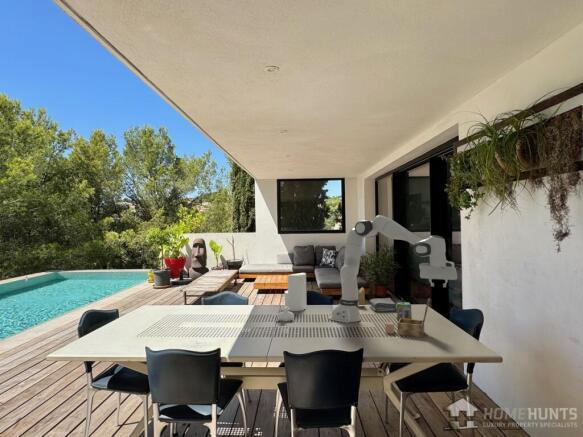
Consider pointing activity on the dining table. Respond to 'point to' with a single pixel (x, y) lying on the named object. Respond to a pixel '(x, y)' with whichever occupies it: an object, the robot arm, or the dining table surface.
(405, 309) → the chalk box
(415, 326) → the crate
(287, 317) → the bust
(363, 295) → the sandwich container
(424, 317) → the lid
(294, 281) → the cylinder
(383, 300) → the towel
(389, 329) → the cube
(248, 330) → the dining table surface
